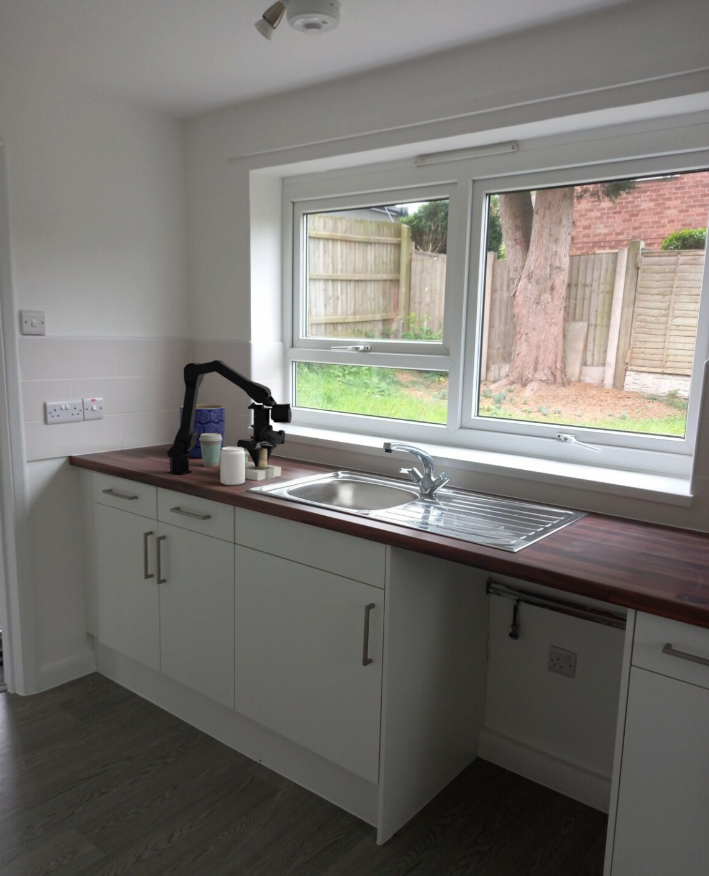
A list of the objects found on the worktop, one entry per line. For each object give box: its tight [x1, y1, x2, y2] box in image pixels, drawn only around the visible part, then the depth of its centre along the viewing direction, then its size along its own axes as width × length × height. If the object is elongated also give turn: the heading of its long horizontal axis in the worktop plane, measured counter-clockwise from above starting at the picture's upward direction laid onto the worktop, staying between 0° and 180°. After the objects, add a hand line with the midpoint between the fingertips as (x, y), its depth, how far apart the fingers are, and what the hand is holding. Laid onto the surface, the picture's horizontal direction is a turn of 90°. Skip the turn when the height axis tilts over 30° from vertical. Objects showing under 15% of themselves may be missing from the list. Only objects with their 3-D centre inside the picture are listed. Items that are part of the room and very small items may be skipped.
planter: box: [178, 403, 226, 459], centre depth 279 cm, size 18×18×21 cm
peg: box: [256, 448, 268, 470], centre depth 242 cm, size 4×4×8 cm
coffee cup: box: [199, 433, 222, 468], centre depth 259 cm, size 8×9×12 cm
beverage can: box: [219, 446, 246, 486], centre depth 229 cm, size 8×8×12 cm
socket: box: [245, 461, 282, 482], centre depth 244 cm, size 17×12×3 cm
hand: (261, 465), depth 242 cm, fingers closed on peg, 4 cm apart
